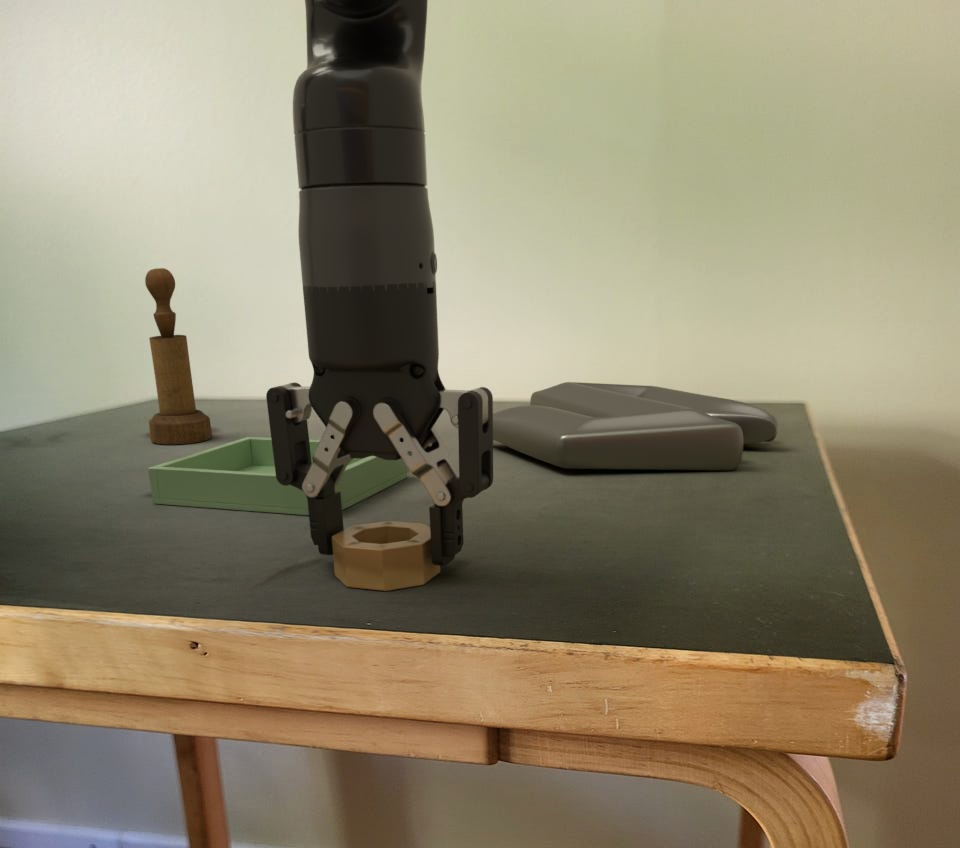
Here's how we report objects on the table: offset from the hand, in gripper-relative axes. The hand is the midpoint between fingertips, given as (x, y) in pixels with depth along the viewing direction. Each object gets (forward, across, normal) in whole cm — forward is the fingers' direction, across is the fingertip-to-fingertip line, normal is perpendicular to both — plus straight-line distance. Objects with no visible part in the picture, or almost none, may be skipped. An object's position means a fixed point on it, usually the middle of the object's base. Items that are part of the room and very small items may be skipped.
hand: (387, 556), depth 61 cm
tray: (+1, -19, +19) cm, 27 cm away
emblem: (+1, +5, +44) cm, 44 cm away
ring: (+1, 0, 0) cm, 1 cm away
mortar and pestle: (+1, -44, +38) cm, 58 cm away
